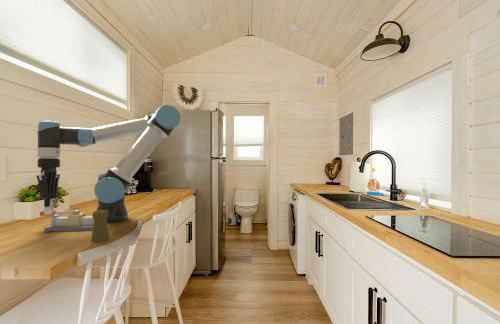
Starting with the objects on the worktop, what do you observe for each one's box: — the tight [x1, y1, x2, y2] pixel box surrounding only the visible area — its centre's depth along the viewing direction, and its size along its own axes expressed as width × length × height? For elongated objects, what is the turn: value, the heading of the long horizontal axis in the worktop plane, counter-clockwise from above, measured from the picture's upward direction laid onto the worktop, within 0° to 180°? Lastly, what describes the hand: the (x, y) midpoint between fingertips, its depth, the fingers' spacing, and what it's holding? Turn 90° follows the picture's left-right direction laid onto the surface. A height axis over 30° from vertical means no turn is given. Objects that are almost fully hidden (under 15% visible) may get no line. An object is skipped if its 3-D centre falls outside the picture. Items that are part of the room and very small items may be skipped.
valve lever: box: [39, 209, 81, 217], centre depth 114 cm, size 3×14×2 cm, turn 108°
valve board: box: [43, 212, 94, 233], centre depth 116 cm, size 20×10×6 cm, turn 99°
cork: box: [90, 209, 110, 243], centre depth 99 cm, size 6×6×11 cm
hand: (48, 214), depth 111 cm, fingers closed
